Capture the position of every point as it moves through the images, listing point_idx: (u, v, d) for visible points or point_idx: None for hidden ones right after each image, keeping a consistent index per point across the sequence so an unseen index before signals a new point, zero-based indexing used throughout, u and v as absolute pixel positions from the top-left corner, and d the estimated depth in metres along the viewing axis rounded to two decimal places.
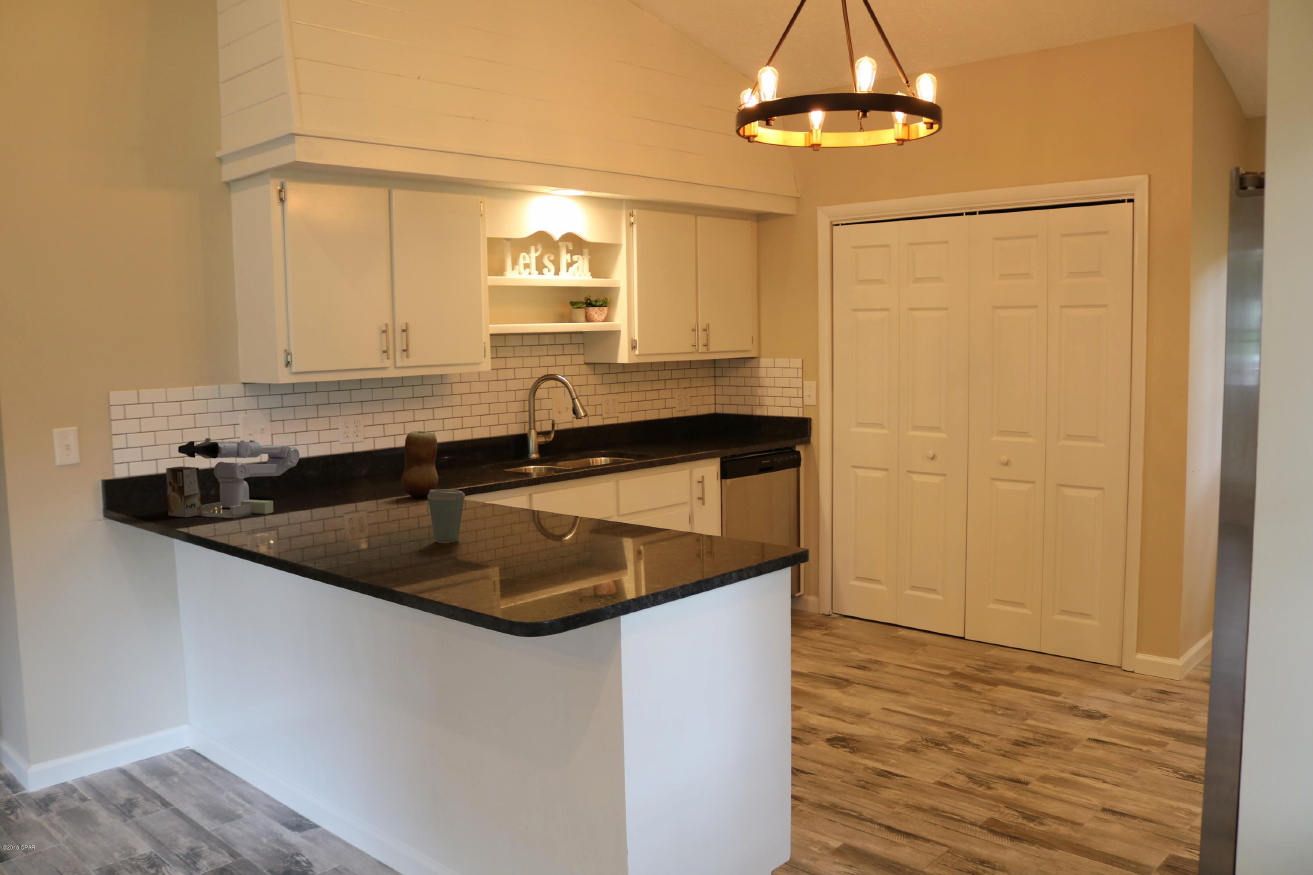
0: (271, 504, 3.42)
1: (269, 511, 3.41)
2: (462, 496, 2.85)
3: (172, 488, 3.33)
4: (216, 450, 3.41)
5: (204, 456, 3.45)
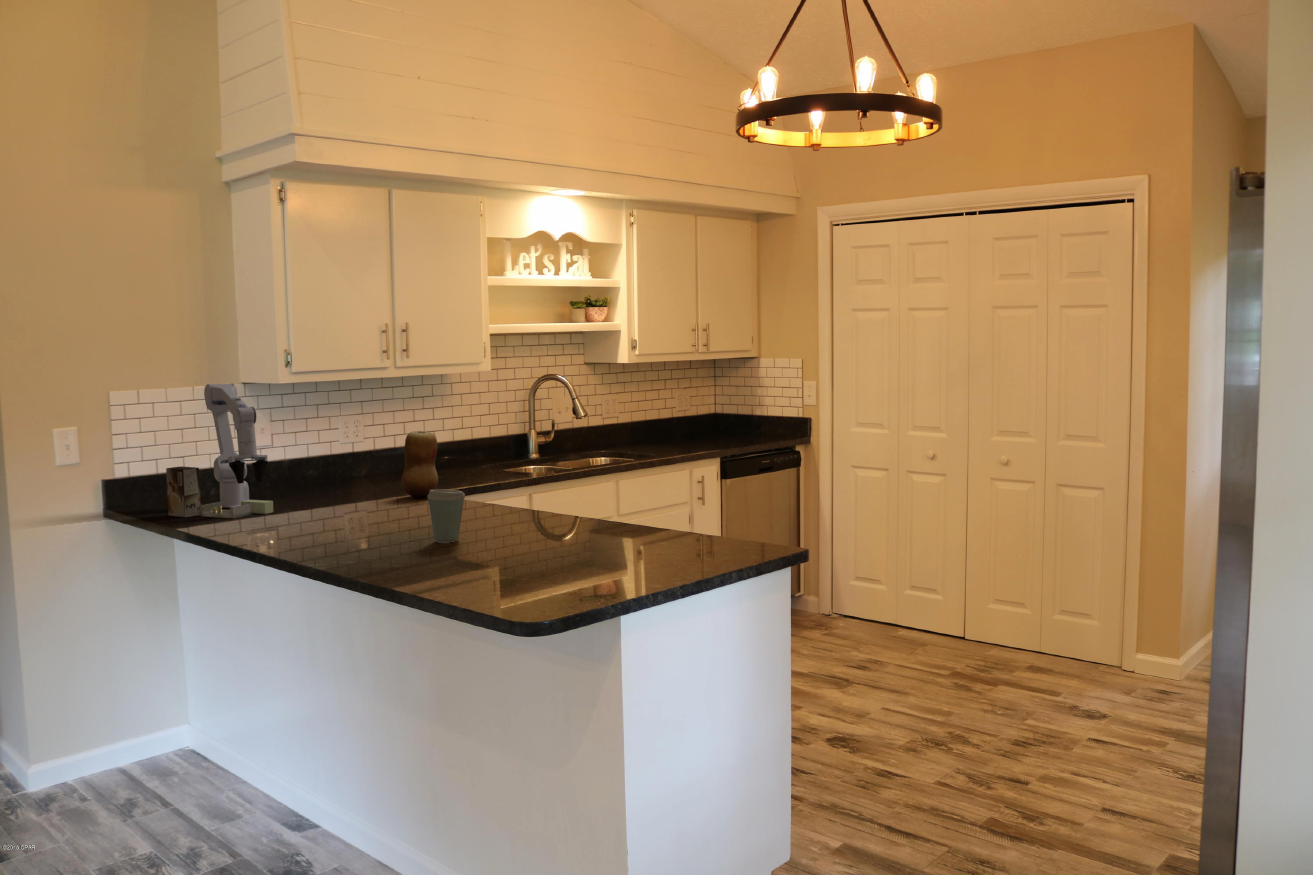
0: (271, 504, 3.42)
1: (269, 511, 3.41)
2: (462, 496, 2.85)
3: (172, 488, 3.33)
4: None
5: None
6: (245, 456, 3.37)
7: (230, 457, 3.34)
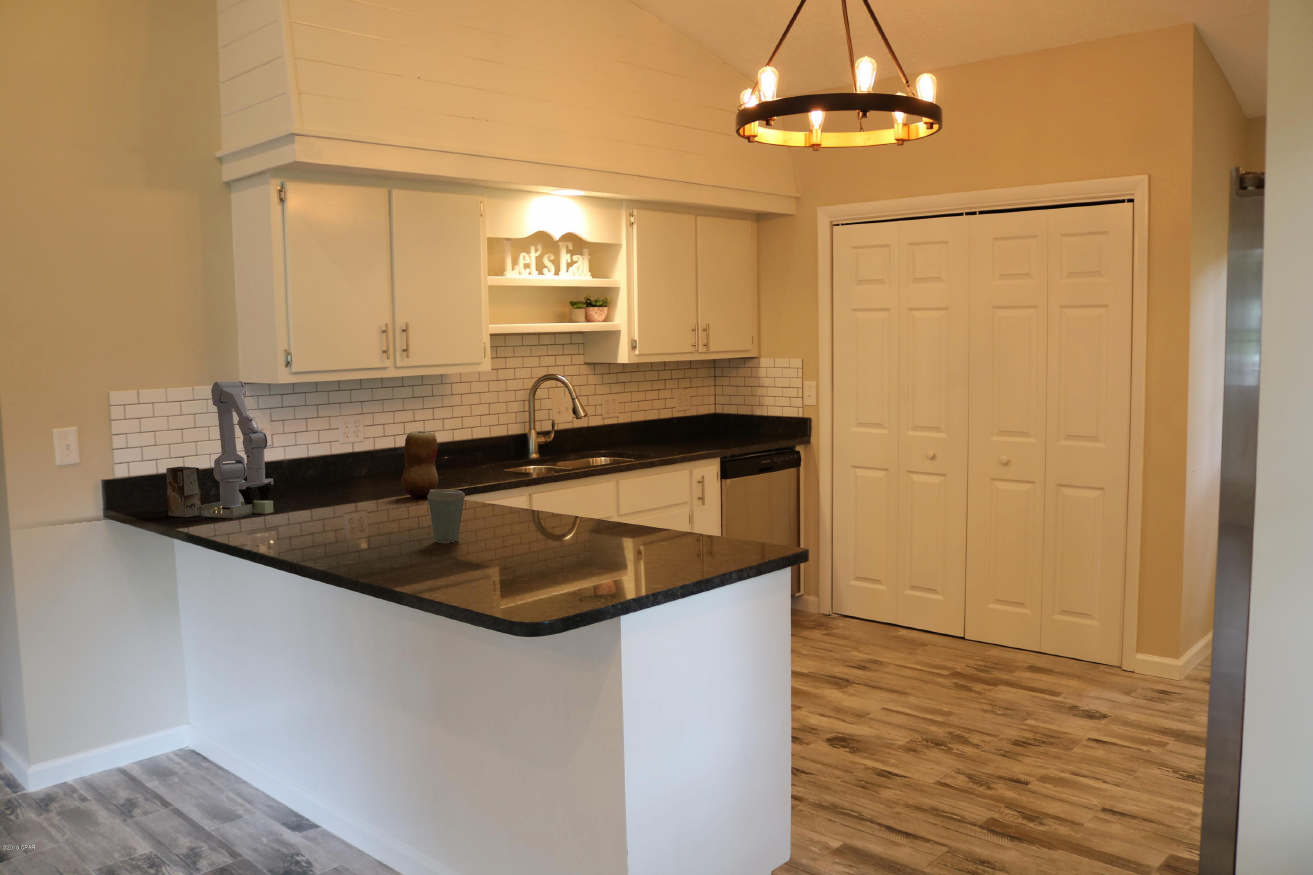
0: (271, 504, 3.42)
1: (269, 511, 3.41)
2: (462, 496, 2.85)
3: (172, 488, 3.33)
4: None
5: None
6: (255, 483, 3.39)
7: (241, 484, 3.35)
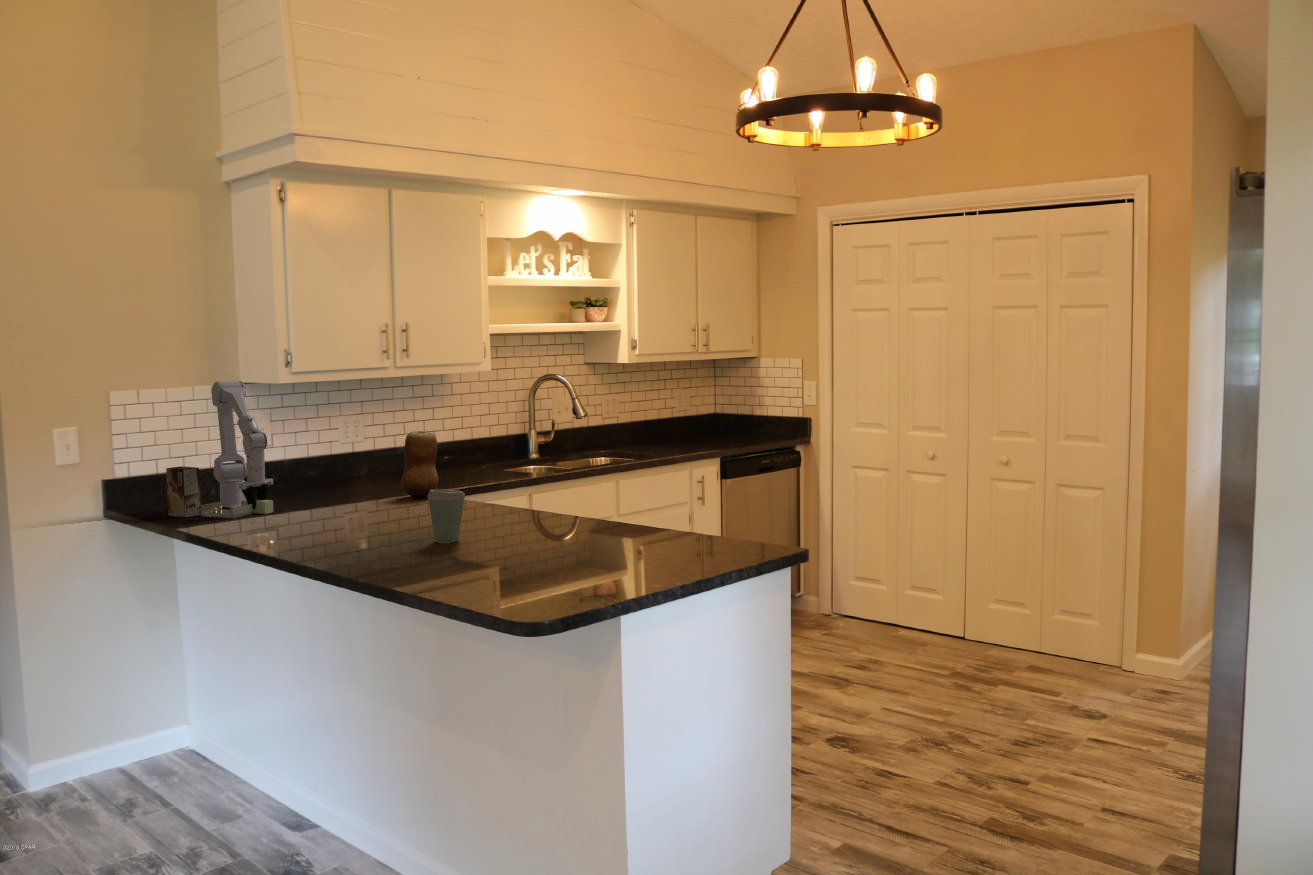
0: (271, 503, 3.42)
1: (269, 510, 3.41)
2: (462, 496, 2.85)
3: (172, 488, 3.33)
4: None
5: None
6: (255, 483, 3.39)
7: (241, 484, 3.35)
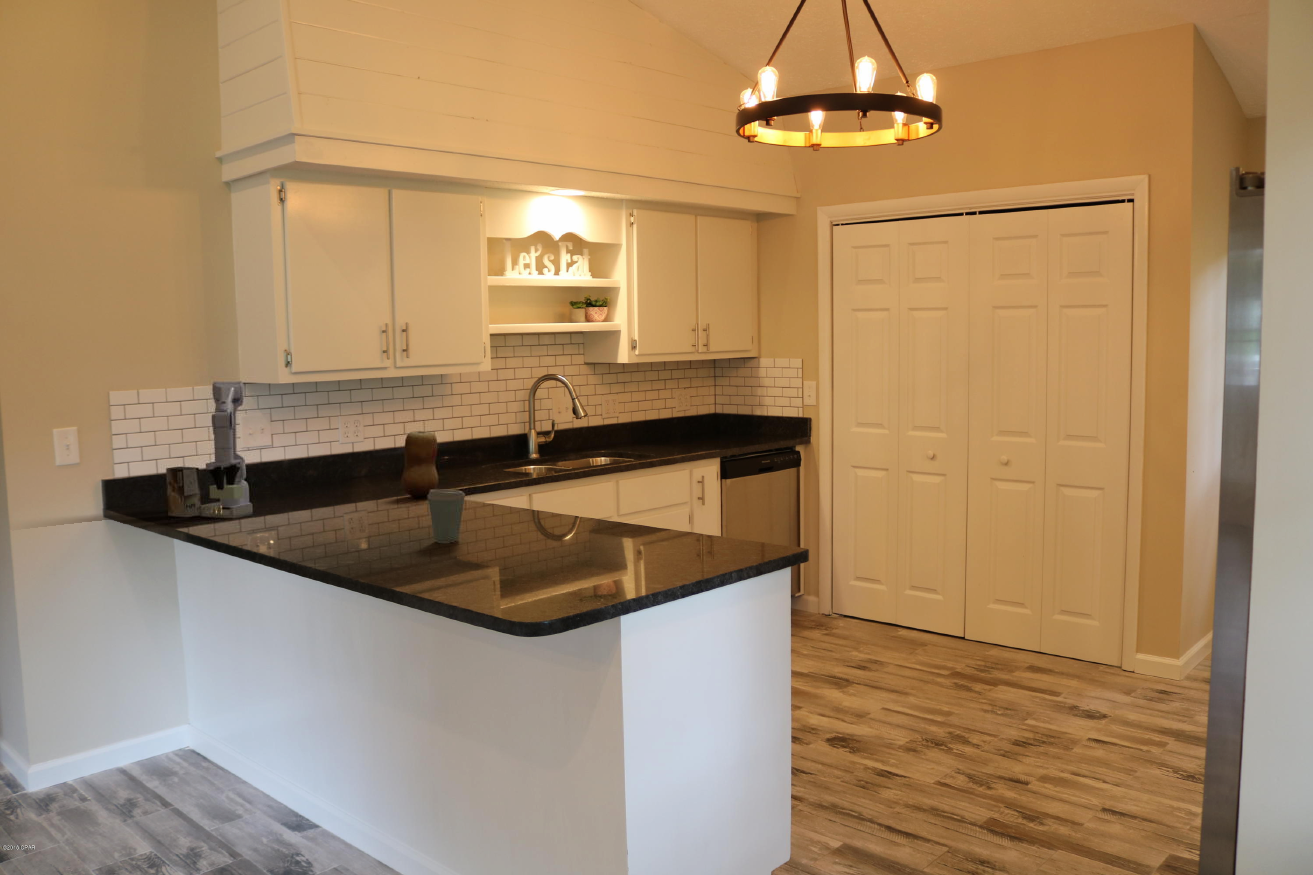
0: (241, 489, 3.35)
1: (238, 496, 3.34)
2: (462, 496, 2.85)
3: (172, 488, 3.33)
4: None
5: None
6: (223, 463, 3.31)
7: (208, 464, 3.28)
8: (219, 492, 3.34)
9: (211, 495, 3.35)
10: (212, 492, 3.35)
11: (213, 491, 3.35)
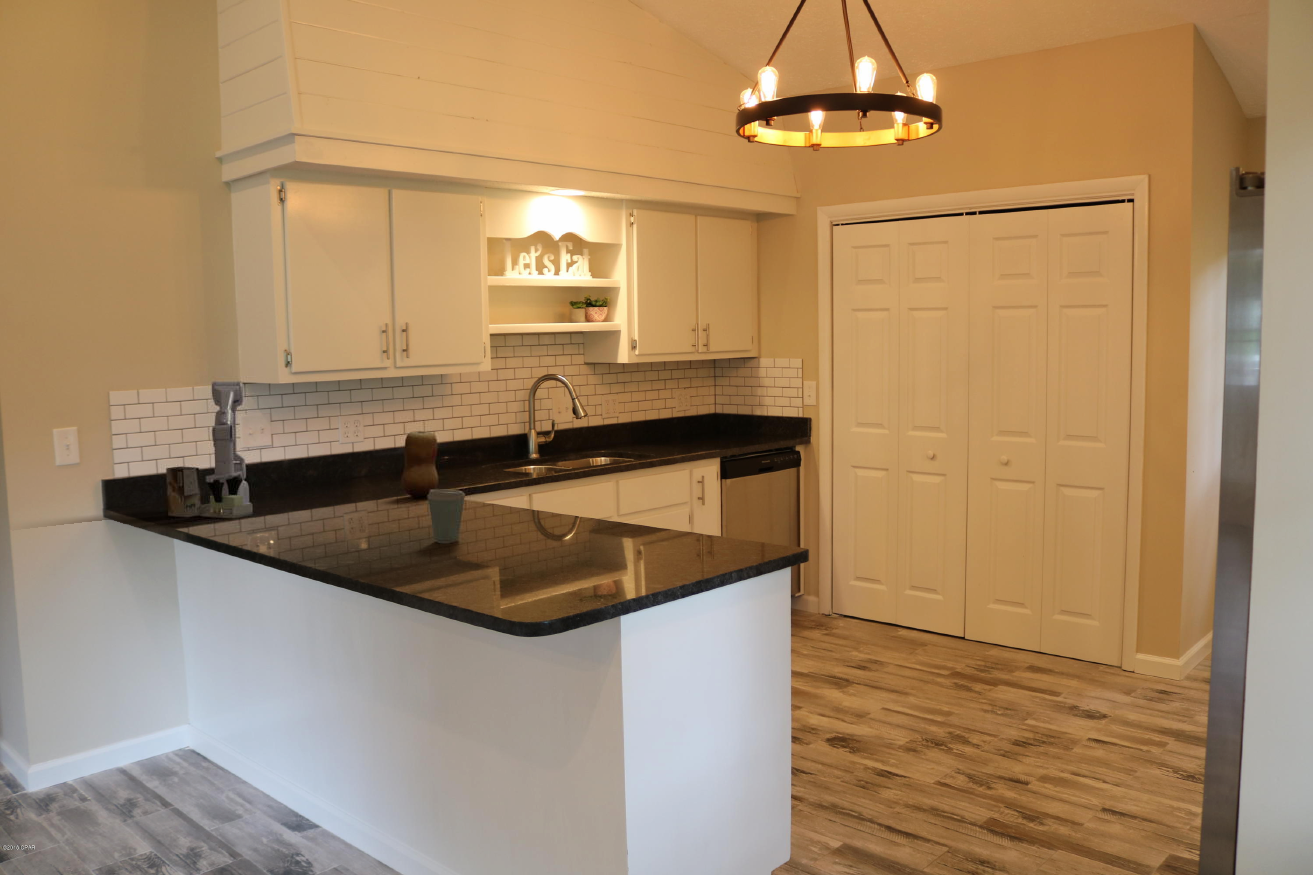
0: (241, 499, 3.35)
1: None
2: (462, 496, 2.85)
3: (172, 488, 3.33)
4: None
5: None
6: (223, 476, 3.32)
7: (208, 477, 3.28)
8: (219, 503, 3.34)
9: (211, 505, 3.35)
10: (213, 502, 3.35)
11: (213, 501, 3.35)
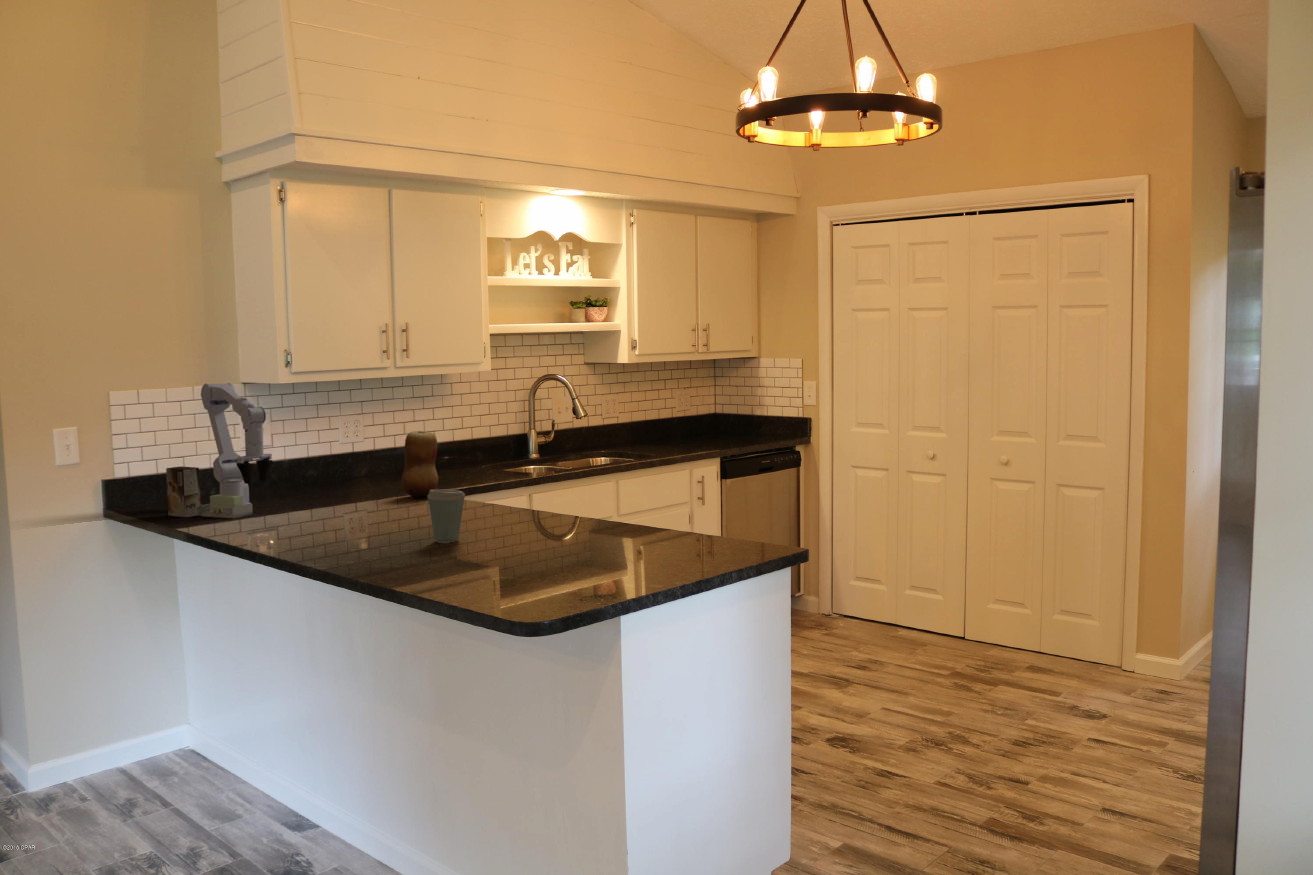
0: (241, 499, 3.35)
1: None
2: (462, 496, 2.85)
3: (172, 488, 3.33)
4: None
5: None
6: (253, 457, 3.40)
7: (239, 458, 3.37)
8: (219, 503, 3.34)
9: (211, 505, 3.35)
10: (213, 502, 3.35)
11: (213, 501, 3.35)
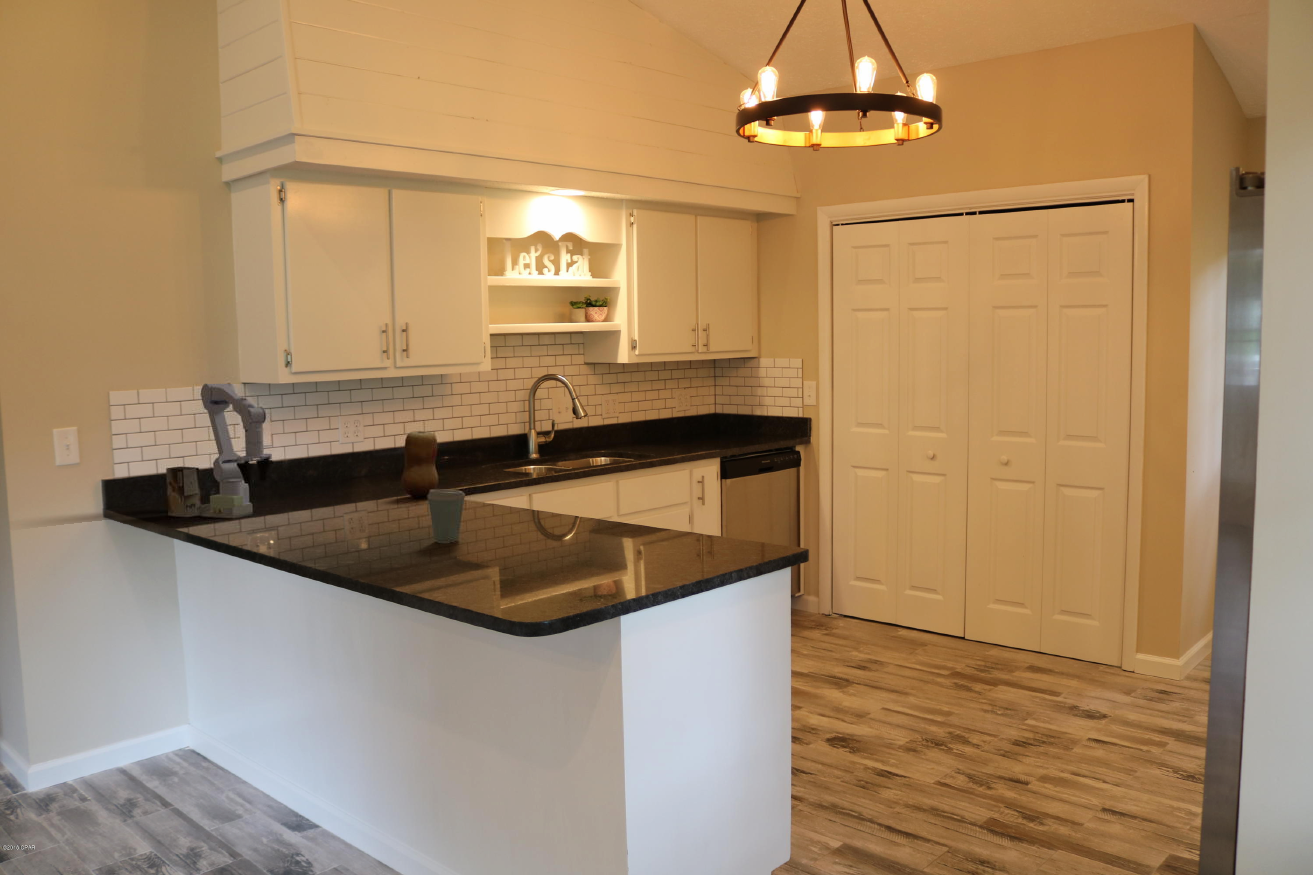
0: (241, 499, 3.35)
1: None
2: (462, 496, 2.85)
3: (172, 488, 3.33)
4: None
5: None
6: (254, 457, 3.41)
7: (240, 458, 3.37)
8: (219, 503, 3.34)
9: (211, 505, 3.35)
10: (213, 502, 3.35)
11: (213, 501, 3.35)
